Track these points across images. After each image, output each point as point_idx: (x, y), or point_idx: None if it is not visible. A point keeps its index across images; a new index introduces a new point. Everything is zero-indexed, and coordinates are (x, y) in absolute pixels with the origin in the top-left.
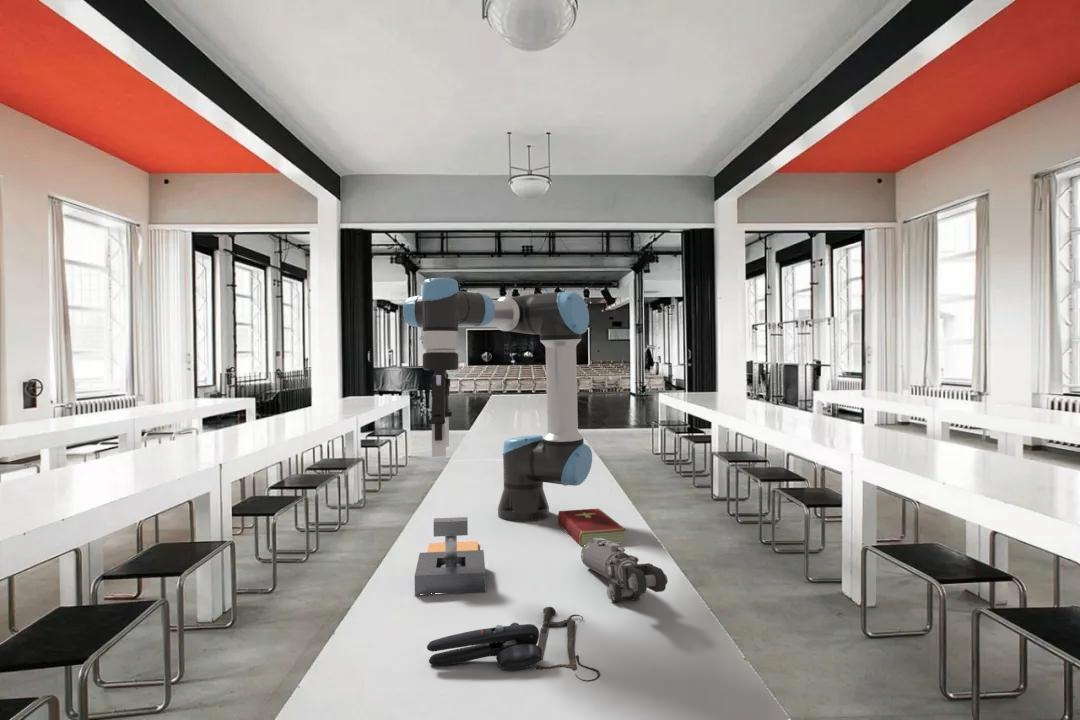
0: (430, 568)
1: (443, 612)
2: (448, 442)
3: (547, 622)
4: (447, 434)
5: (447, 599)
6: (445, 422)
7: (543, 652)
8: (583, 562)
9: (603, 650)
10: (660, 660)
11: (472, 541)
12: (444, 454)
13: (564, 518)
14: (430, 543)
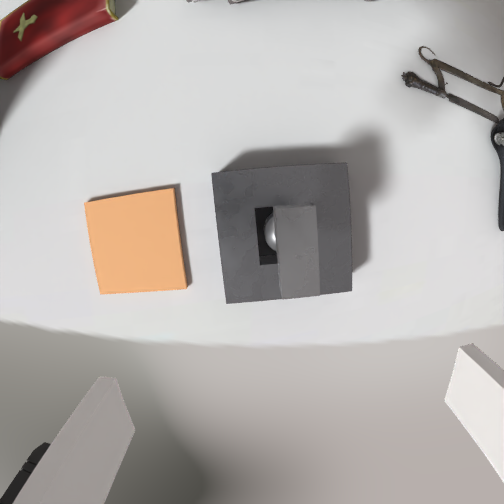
0: (319, 269)
1: (403, 227)
2: (106, 392)
3: (442, 90)
4: (89, 430)
5: (360, 226)
6: (60, 500)
7: (488, 112)
8: (235, 2)
9: (477, 55)
10: (481, 20)
11: (86, 212)
12: (477, 351)
13: (22, 56)
14: (102, 291)
